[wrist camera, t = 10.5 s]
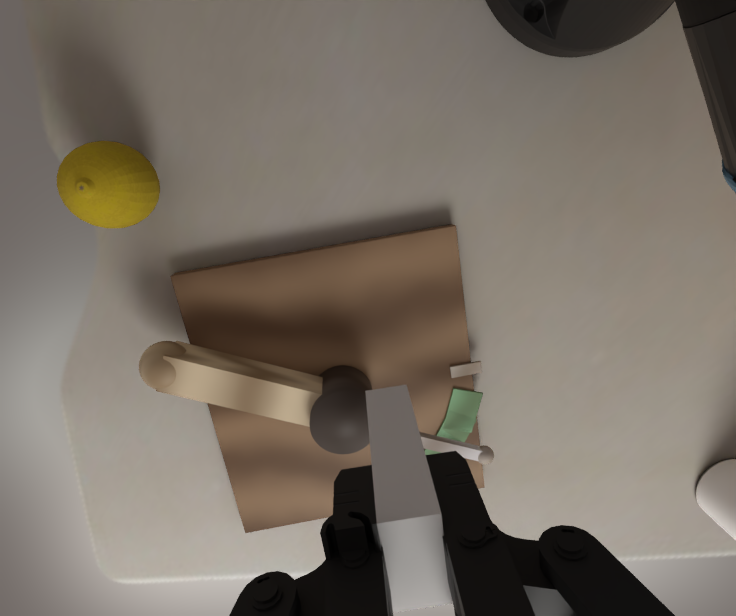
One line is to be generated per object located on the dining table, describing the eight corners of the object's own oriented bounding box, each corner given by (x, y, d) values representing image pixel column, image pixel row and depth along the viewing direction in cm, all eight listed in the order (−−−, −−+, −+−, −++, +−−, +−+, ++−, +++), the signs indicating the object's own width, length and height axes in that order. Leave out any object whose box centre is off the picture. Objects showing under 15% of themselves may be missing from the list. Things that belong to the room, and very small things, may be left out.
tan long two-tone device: (147, 375, 38) (119, 407, 33) (159, 317, 37) (132, 341, 32) (465, 450, 42) (484, 489, 37) (485, 400, 41) (507, 434, 36)
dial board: (175, 272, 37) (169, 276, 36) (461, 222, 38) (466, 224, 37) (247, 523, 44) (245, 534, 43) (488, 477, 45) (493, 487, 44)
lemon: (131, 126, 34) (74, 115, 27) (190, 187, 36) (152, 192, 28) (79, 179, 35) (9, 183, 27) (138, 236, 36) (88, 255, 29)
